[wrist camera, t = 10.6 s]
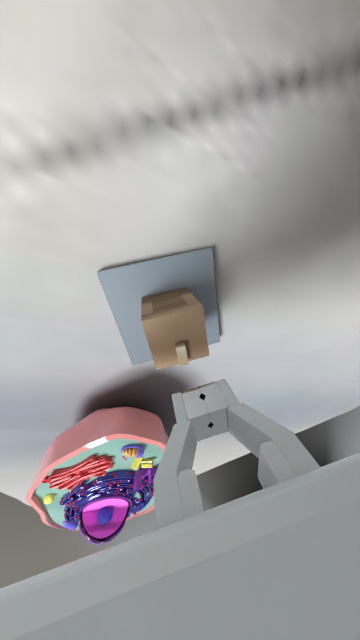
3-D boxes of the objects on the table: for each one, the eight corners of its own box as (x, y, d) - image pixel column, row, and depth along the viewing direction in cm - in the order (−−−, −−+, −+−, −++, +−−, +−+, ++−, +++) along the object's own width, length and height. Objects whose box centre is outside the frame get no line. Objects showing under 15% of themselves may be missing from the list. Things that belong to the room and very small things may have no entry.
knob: (141, 297, 19) (141, 324, 13) (185, 287, 19) (205, 308, 13) (152, 335, 21) (157, 374, 15) (191, 325, 21) (211, 359, 15)
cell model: (188, 388, 28) (215, 472, 17) (148, 462, 34) (151, 556, 24) (72, 368, 22) (13, 477, 12) (49, 462, 28) (-1, 586, 18)
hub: (99, 270, 18) (82, 282, 13) (208, 247, 19) (232, 249, 14) (133, 359, 23) (130, 393, 18) (216, 337, 24) (236, 362, 19)
